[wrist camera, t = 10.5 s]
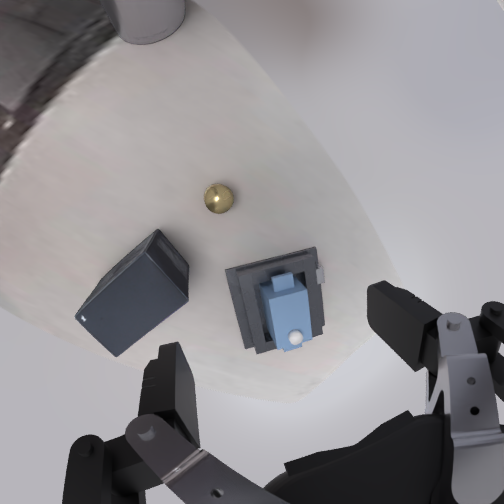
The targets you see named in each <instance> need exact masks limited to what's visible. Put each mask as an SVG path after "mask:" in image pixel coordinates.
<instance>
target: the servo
mask: <svg viewBox="0 0 504 504" xmlns="http://www.w3.org/2000/svg"><path fill="white" fill-rule="evenodd" d="M259 288H260V293H261V299H262V304H263V309H264V314H265V320H266V325H267V329H268V331H269V333H270V335H271V337H272V339H273V341H274V343H275V345H276V347H277V349H278V350H279V349H282V348H283V350H284V352H286V351H289V350H292V349H296V348H299V347H302V343H303V342H306V341H309V340H312V330H311V320H310V310H309V301H308V292H307V289H306V288H305V287H304V286H303V284H302V283H301V282H300V281H299V280H298V279H297V278H296V277H295V276H294V275H293V274H292V273H291V272H289V273H285V274H281V275H277V276H273V277H271V280H270V281H266V282H263V283H259Z"/></svg>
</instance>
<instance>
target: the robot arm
mask: <svg viewBox="0 0 504 504" xmlns="http://www.w3.org/2000/svg"><path fill="white" fill-rule="evenodd" d="M100 2H101V4H102V6H103V8H104V10H105V12H106V13H107V15H108V17H109V19H110V21H111V23H112V25H113V27H114V29H115V30H116V32H117V34H118V35H119V36H120V38H122V39H123V40H124V41H126V42H129V43H133V44H149V43H154V42H157V41H160V40H162V39H164V38H166V37H168V36H169V35H171V34H172V33H173V32H174V31H175V30H176V29H178V28H179V26H180V25H181V23H182V22H183V19H184V16H185V0H100ZM367 319H368V323H369V325H370V327H371V328H372V330H373V331H374V332H375V333H376V334H378V336H380V337H381V338H382V339H383V340H384V341H385V342H386V343H387V344H388V345H389V346H390V347H391V348H392V349H393V350H394V351H395V352H396V353H397V354H398V355H399V356H400V357H401V358H402V359H403V360H404V361H405V362H406V363H407V364H408V365H409V366H410V367H411V368H412V369H413V370H414V371H415V372H416V371H418V370H420V369H421V368H423V367H426V368H427V372H426V409H425V414H423V415H418V416H414V417H413V416H412V414H411V413H410V412H409V411H408V410H407V411H405V412H403V413H402V414H400V415H398V416H396V417H394V418H392V419H391V420H389V421H387V422H385V423H383V424H381V425H380V426H379V427H378V428H376V429H375V430H374V431H373V432H371V433H370V434H369V435H367V436H366V437H365V438H364V439H362V440H361V441H360V442H359V443H357V444H355V445H353V446H349V447H344V448H339V449H334V450H328V451H321V452H316V453H314V454H311V455H308V456H305V457H302V458H299V459H296V460H293V461H290V462H287V463H284V466H285V469H286V472H284V473H282V474H280V475H279V476H277V477H276V478H274V479H273V480H272V481H270V482H269V483H268V484H267V485H266V486H265V487H264V488H261V487H259V486H258V485H256V484H254V483H253V482H251V481H250V480H248V479H247V478H245V477H243V476H242V475H240V474H239V473H237V472H236V471H234V470H232V469H231V468H230V467H228V466H227V465H225V464H224V463H222V462H221V461H220V460H218V459H217V458H216V457H214V456H213V455H211V454H210V453H209V452H207V451H205V450H203V449H202V450H201V451H200V450H199V449H198V448H200V439H199V429H198V419H197V408H196V394H195V382H194V378H193V374H192V371H191V369H190V367H189V364H188V362H187V360H186V358H185V355H184V353H183V351H182V348H181V346H180V344H179V342H174V343H169V344H165V345H160V346H159V353H158V359H154V360H150V362H149V363H148V365H147V366H146V368H145V369H144V375H143V382H142V389H141V396H140V403H139V411H138V417H137V418H135V419H134V420H132V421H131V422H130V423H129V425H128V426H127V428H126V431H125V434H124V435H122V436H120V437H117V438H115V439H112V440H109V441H106V442H103V440H102V439H101V438H99V437H98V436H96V435H85V436H82V437H80V438H78V439H77V440H76V441H75V442H74V443H73V445H72V446H71V449H70V453H69V458H68V465H67V470H66V477H65V484H64V491H63V500H62V504H146V498H145V490H146V489H150V488H152V487H155V486H158V485H160V484H163V483H165V485H167V486H168V488H169V489H171V490H172V491H173V492H174V493H175V494H176V495H177V496H178V497H179V498H180V499H181V500H182V501H183V502H184V503H185V504H504V425H501V424H499V418H498V410H497V403H496V397H495V394H496V395H497V396H498V397H499V398H500V399H501V400H502V401H503V402H504V357H503V356H502V355H501V354H500V353H498V351H499V348H500V345H501V342H502V343H503V344H504V304H502V303H500V302H495V301H491V302H487V303H485V304H484V305H483V306H482V309H481V314H480V316H476V317H473V318H469V319H468V318H467V317H466V316H464V315H462V314H460V313H455V312H454V313H453V312H450V313H445V314H442V313H440V312H439V311H437V310H436V309H434V308H433V307H431V306H430V305H428V304H427V303H426V302H424V301H422V300H421V299H419V298H418V297H415V295H414V294H412V293H411V292H409V291H408V290H405V289H401V288H398V287H394V286H393V285H391V284H390V283H388V282H387V281H385V280H383V281H380V282H378V283H375V284H372V285H370V286H368V289H367Z"/></svg>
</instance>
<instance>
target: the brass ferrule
mask: <svg viewBox="0 0 504 504" xmlns="http://www.w3.org/2000/svg"><path fill="white" fill-rule="evenodd" d="M233 200H234V198H233V194H232V192H231V190H230V189H229V188H227V187H226V186H223V185H220V184H213V185H211V186H209V187H208V188H207V189H206V191H205V193H204V201H205V204H206V206H207V208H208V209H209V210H210V211H211V212H213V213H216V214H221V213H225V212H227V211H228V210H229V209H230V208H231V207H232V204H233Z"/></svg>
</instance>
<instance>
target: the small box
mask: <svg viewBox="0 0 504 504" xmlns="http://www.w3.org/2000/svg"><path fill="white" fill-rule="evenodd" d="M188 280H189V265H188V264H187V262H186V261H185V260H184V259H183V258H182V256H181V255H180V254H179V253H178V252H177V250H176V249H175V248H174V247H173V246H172V244H171V243H170V242H169V241H168V240H167V238H166V237H165V236H164V235H163V234H162V232H161V231H160V230H158V229H157V230H156V231H154V232H153V233H152V234H151V235H149V236H148V237H147V238H146V239H145V240H144V241H143V242H141V243H140V244H139V245H138V246H136V248H135V249H133V250H132V251H131V252H130V253H129V254H128V255H127V256H125V257H124V258H123V259H122V260H121V261H120V262H119V263H117V265H115V266H114V267H113V268H112V269H111V270H110V271H109V272H108V273H107V274H106V275H105V276H104V277H103V278H102V279H101V280H100V281H99V283H98V284H97V286H96V287H95V289H94V290H93V291H92V293H91V294H90V296H89V297H88V298H87V299H86V301H85V302H84V303H83V305H82V306H81V308H80V309H79V310H78V312H77V313H76V315H75V319H76V320H77V321H78V322H79V323H80V324H81V325H82V326H83V327H84V328H85V329H86V330H87V331H88V332H89V333H90V334H91V335H92V336H93V337H94V338H95V339H96V340H97V341H98V342H100V344H102V345H103V346H104V347H105V348H106V349H107V350H108V351H109V352H110V353H111V354H113V355H114V356H115V357H118V356H119V355H120V354H122V353H123V352H124V351H125V350H127V349H128V348H129V347H130V346H132V345H133V344H134V343H136V342H137V341H138V340H139V339H141V338H142V337H143V336H144V335H146V334H147V333H148V332H150V331H151V330H152V329H153V328H155V327H156V326H157V325H159V324H160V323H161V322H162V321H164V320H165V319H166V318H168V317H169V316H170V315H172V314H173V313H174V312H175V311H177V310H178V309H179V308H181V307H182V306H183V305H185V304H186V303H187V302H188V301H189V299H188V298H189V297H188Z"/></svg>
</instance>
